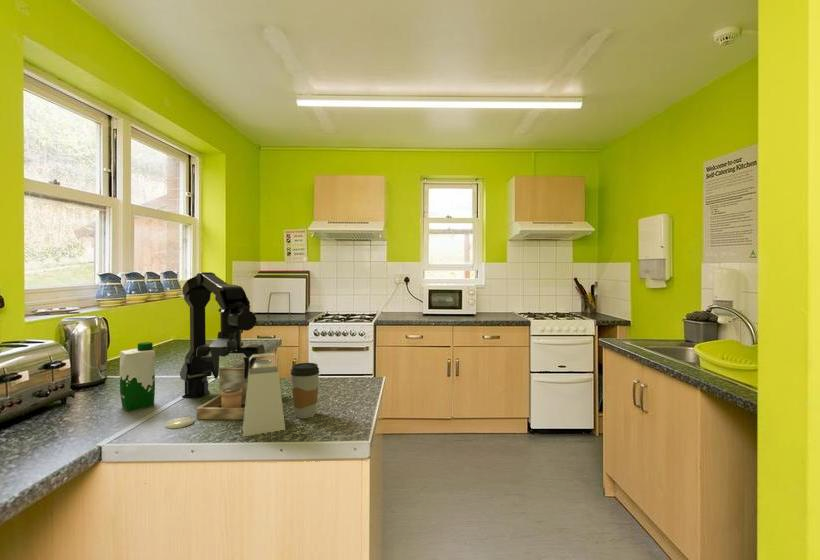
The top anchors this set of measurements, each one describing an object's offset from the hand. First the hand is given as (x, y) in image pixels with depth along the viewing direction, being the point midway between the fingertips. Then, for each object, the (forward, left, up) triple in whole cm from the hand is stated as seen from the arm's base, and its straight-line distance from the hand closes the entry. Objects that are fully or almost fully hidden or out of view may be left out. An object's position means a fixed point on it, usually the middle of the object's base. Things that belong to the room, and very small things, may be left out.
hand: (231, 378), depth 120 cm
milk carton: (-33, +5, -11) cm, 35 cm away
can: (+3, +17, -11) cm, 20 cm away
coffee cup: (+23, -1, -11) cm, 26 cm away
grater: (+14, -10, -11) cm, 20 cm away
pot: (0, 0, -11) cm, 11 cm away
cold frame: (0, +2, -11) cm, 11 cm away
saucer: (-10, -9, -11) cm, 17 cm away
